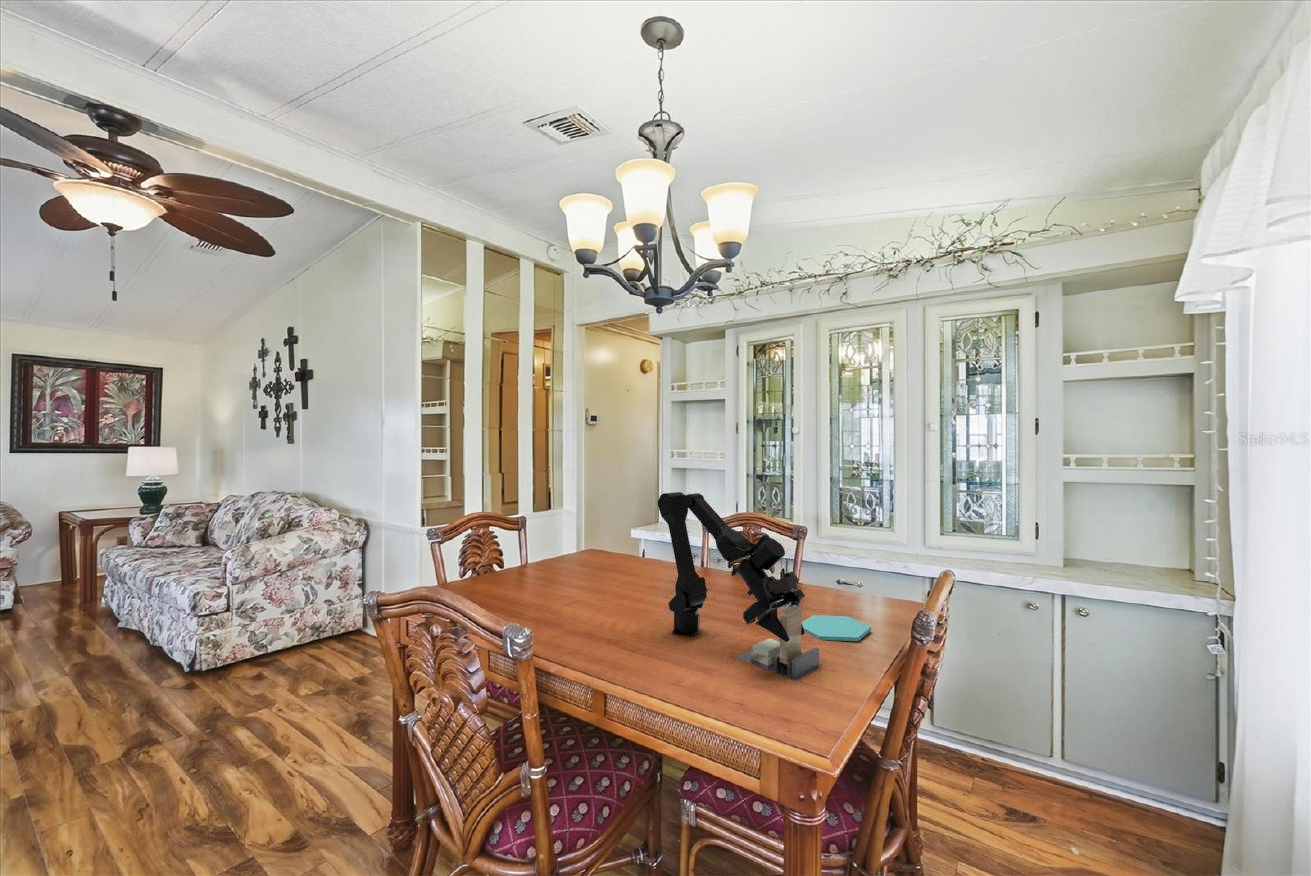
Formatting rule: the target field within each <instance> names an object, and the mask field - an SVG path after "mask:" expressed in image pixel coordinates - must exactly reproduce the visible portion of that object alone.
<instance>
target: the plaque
mask: <svg viewBox="0 0 1311 876" xmlns="http://www.w3.org/2000/svg"><path fill="white" fill-rule="evenodd" d="M801 622H802V625H803V629H804V632H805V633H807V634H809V635H810V636H812V637H813V638H815V639H817V640H819V641H837V642H839V641H843V642H844V641H845V642H847V641H848V642H859V641H861V639H862V638H864V637H865V636H866V635H868V633H870V632H871V631H872V626H871V625H868V624H866V623H863V622H861V621H859V620H857V619H855V618H852V617H850V616H848V615H811V616H810V617H808V618H806V619H805V620H804V621H801Z"/></svg>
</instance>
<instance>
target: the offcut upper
mask: <svg viewBox="0 0 1311 876" xmlns="http://www.w3.org/2000/svg"><path fill="white" fill-rule="evenodd" d="M752 649H753V652H755V653H757V654H760V655H763V656H766V657H770V656H772V655H774V654H776V653H778V652H780V640H776V639H772V638H770V637H769V638H767V639H765V640H763V641H760V642H758V643H756V644H753V645H752Z"/></svg>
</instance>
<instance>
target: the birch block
mask: <svg viewBox="0 0 1311 876" xmlns="http://www.w3.org/2000/svg"><path fill="white" fill-rule="evenodd" d="M802 613H803V612H802V606H796V605H793V606H791V607H788V608H785V609H783V610H781V609H780V610H779V621H780V623H781V624H782V626H783V628H784V629H785V631H786V633H787V635H788V637H789V639H790V640H789V641H788V642H785V641H784V640H782V639H781V638H779V642H780V662H781V663H784V664H787V661H789V660H791V659H793V658H795V657H797V656H799V655H801V654H802V635H801V622H802V619H803V618H802V615H803V614H802Z"/></svg>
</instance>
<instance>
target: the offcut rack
mask: <svg viewBox="0 0 1311 876" xmlns="http://www.w3.org/2000/svg"><path fill="white" fill-rule="evenodd" d="M752 652H753V648H752V649H750V650H748V651H746V652H744V653H741V654H739V655H736V656H735V657H734V658H735V659H737V660H740V661H742V662H746V663H748V664H751V665H753V666H755V667H757V668H760V669H764V670H766V671H769V672H771V673H773V674H777V675H779V676H781V677H785V678H787V679H790V680H792V681H797V680H800V679H801V678H802V677H805V676H807V675H808V674H810V673H812V672H813V671H815V670H817V669H819V668H820V667H823V665H824V664H821V663H820V648H818V647H814V648H812V649H809V650H807V651H805V652H802V653H801V655H799V656H797V657H795V658H793V659H791V660H789V661H787V664H784V663H781V662H780V654H778V655H776V656H774V663H773V664H771V665H769V666H767V665H765V664H762V663H759V662H757V661H754V660H751V653H752Z"/></svg>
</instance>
